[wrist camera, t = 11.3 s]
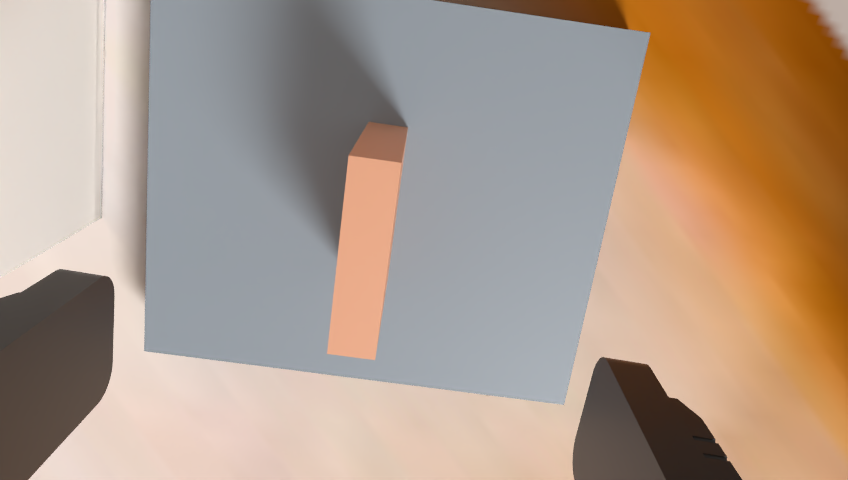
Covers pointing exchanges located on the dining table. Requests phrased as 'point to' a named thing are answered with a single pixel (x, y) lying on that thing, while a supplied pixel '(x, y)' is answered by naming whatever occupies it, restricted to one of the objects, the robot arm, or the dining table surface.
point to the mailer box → (49, 123)
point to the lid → (381, 187)
